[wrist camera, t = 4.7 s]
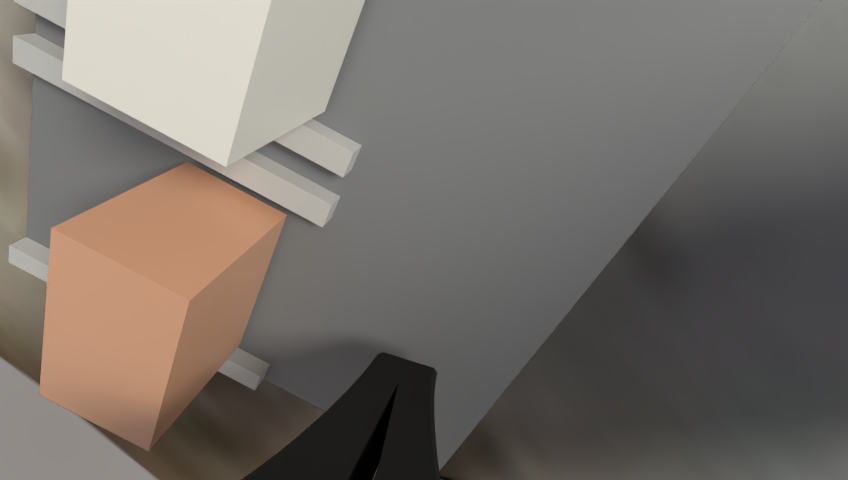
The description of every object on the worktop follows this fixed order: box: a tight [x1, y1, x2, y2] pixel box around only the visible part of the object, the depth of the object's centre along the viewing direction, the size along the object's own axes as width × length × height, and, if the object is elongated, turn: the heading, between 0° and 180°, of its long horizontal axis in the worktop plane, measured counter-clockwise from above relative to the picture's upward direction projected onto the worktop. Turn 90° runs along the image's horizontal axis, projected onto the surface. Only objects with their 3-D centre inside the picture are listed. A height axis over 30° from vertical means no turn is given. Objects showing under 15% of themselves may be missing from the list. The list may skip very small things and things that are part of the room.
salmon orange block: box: [39, 162, 287, 451], centre depth 11 cm, size 2×4×4 cm, turn 154°
